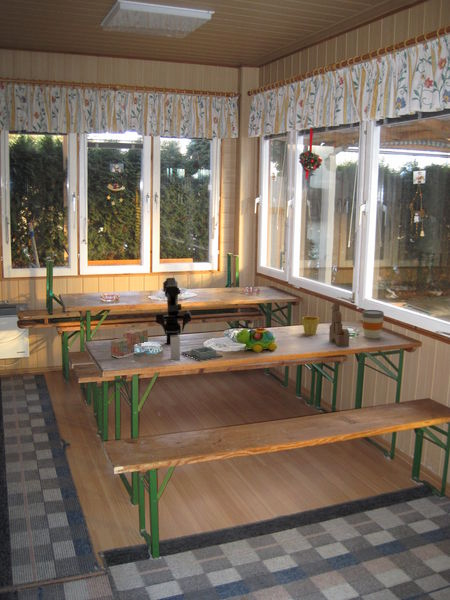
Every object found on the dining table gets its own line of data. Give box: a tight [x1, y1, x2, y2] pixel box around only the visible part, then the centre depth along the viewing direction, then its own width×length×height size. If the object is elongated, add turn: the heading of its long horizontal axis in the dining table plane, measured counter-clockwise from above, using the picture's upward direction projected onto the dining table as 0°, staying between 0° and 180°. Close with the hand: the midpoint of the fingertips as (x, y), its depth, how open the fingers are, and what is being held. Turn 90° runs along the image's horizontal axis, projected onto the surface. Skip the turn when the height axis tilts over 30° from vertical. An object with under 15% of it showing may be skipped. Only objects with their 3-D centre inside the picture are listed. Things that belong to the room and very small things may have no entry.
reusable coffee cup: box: [361, 309, 385, 339], centre depth 378 cm, size 13×13×15 cm
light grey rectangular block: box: [170, 334, 181, 361], centre depth 331 cm, size 4×4×12 cm
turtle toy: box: [235, 327, 278, 353], centre depth 351 cm, size 17×23×12 cm
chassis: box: [181, 346, 223, 361], centre depth 339 cm, size 18×14×4 cm
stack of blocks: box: [110, 327, 149, 357], centre depth 341 cm, size 21×6×12 cm, turn 141°
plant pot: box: [301, 315, 320, 336], centre depth 386 cm, size 10×10×10 cm
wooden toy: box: [328, 300, 350, 348], centre depth 362 cm, size 16×7×25 cm, turn 13°
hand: (173, 331), depth 337 cm, fingers open, 9 cm apart
